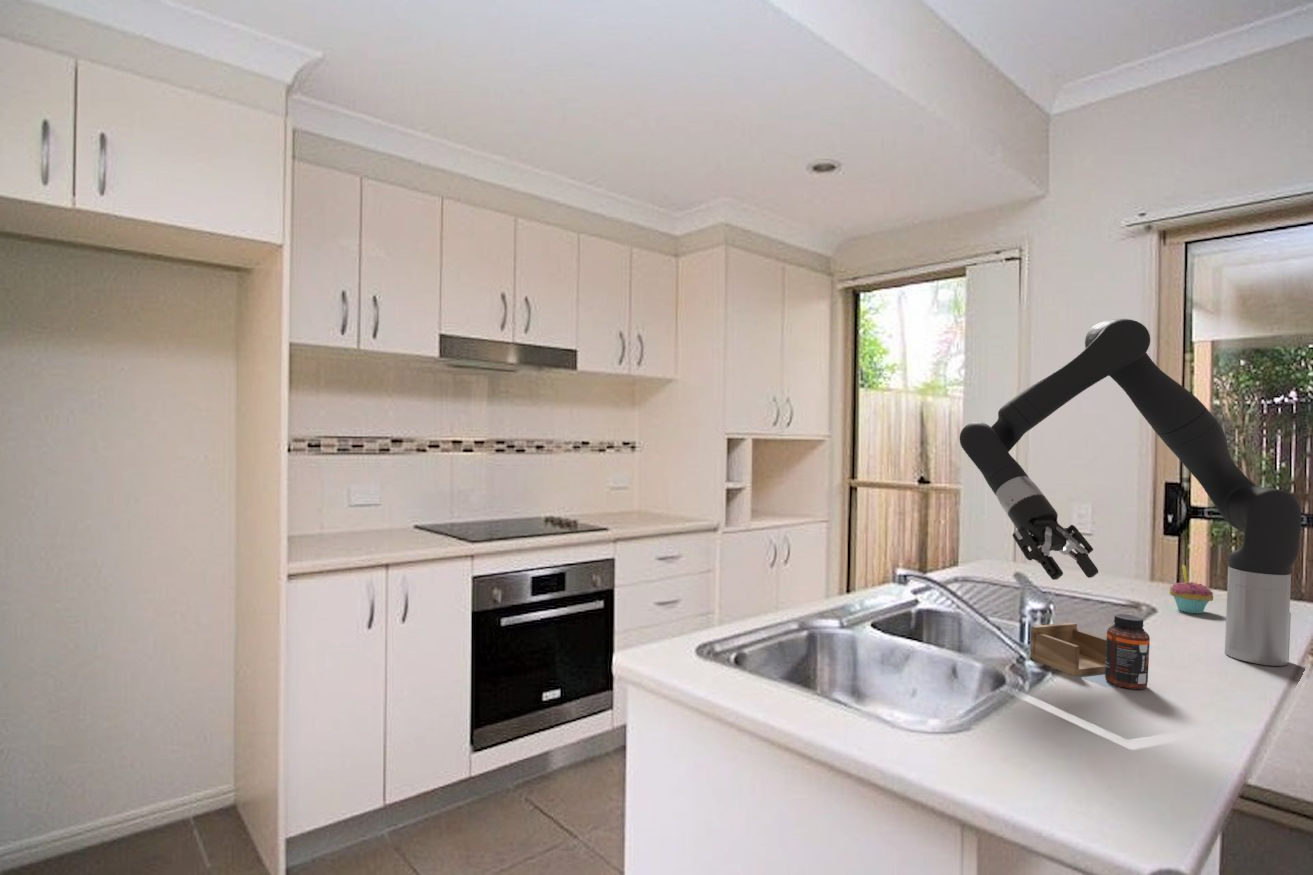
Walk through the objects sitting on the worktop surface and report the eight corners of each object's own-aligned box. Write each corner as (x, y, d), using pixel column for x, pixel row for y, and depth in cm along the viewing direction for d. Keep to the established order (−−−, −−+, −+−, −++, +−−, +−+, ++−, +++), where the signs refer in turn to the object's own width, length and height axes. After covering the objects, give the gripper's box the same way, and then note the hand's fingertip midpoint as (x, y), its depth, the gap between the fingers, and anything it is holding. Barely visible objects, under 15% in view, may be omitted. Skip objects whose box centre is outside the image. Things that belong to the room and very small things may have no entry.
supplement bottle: (1154, 692, 112) (1158, 623, 112) (1114, 688, 113) (1117, 620, 113) (1136, 679, 118) (1140, 613, 117) (1098, 675, 119) (1101, 610, 119)
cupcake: (1181, 614, 166) (1183, 564, 166) (1161, 605, 175) (1163, 558, 175) (1220, 617, 165) (1222, 567, 165) (1199, 608, 173) (1201, 560, 173)
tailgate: (1119, 672, 121) (1178, 694, 111) (1119, 678, 121) (1178, 700, 112) (1081, 677, 118) (1138, 700, 109) (1080, 682, 118) (1138, 706, 109)
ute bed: (1070, 659, 130) (1072, 622, 130) (1116, 675, 122) (1117, 636, 122) (1030, 663, 127) (1031, 626, 127) (1073, 681, 119) (1075, 640, 119)
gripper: (1008, 493, 130) (1060, 566, 119) (1065, 492, 135) (1119, 562, 124) (985, 517, 135) (1033, 589, 124) (1041, 516, 140) (1091, 585, 129)
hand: (1076, 576), depth 124 cm, fingers open, 8 cm apart
